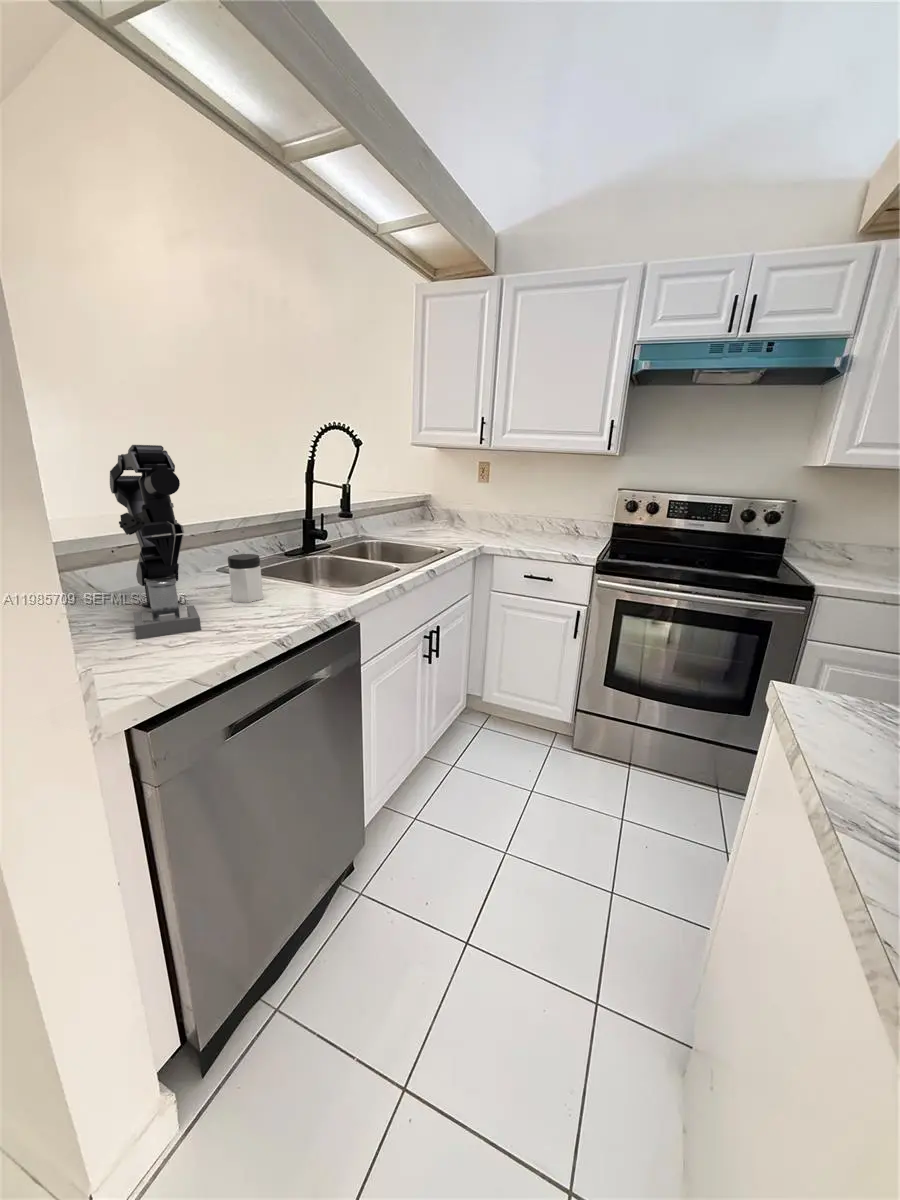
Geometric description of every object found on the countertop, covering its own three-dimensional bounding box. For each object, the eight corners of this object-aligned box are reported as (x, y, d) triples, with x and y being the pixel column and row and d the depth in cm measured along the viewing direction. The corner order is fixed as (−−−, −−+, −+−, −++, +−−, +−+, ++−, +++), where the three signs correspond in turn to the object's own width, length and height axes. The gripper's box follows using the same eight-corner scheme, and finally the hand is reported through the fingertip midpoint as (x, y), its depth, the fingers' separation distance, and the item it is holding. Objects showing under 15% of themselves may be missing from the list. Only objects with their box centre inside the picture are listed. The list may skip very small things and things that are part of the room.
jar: (264, 601, 137) (261, 558, 133) (232, 604, 133) (228, 560, 130) (261, 593, 144) (257, 552, 141) (231, 596, 141) (226, 554, 138)
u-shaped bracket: (135, 624, 116) (132, 606, 115) (195, 616, 122) (193, 599, 121) (136, 639, 107) (133, 620, 106) (201, 629, 114) (198, 611, 112)
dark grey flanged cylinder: (145, 627, 114) (138, 581, 111) (172, 620, 120) (165, 576, 116) (162, 632, 111) (156, 585, 108) (189, 624, 117) (183, 579, 114)
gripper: (127, 505, 123) (142, 567, 126) (106, 501, 106) (124, 572, 108) (177, 500, 127) (190, 561, 129) (164, 495, 109) (180, 565, 112)
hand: (171, 564), depth 120 cm, fingers open, 9 cm apart
